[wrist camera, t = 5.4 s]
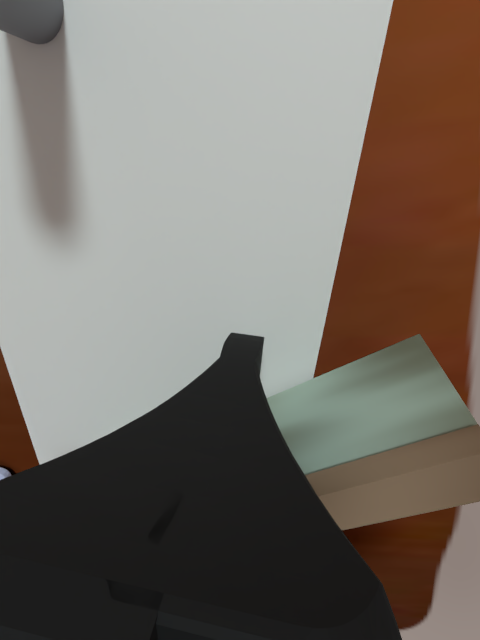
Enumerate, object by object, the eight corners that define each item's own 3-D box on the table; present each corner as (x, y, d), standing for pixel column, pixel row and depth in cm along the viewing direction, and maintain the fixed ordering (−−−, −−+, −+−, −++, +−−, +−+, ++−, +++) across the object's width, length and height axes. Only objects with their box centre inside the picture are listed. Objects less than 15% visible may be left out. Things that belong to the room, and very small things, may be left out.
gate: (110, 489, 15) (50, 595, 12) (87, 467, 15) (16, 571, 11) (437, 367, 10) (520, 499, 6) (415, 325, 9) (490, 442, 5)
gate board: (57, 463, 17) (-49, 598, 12) (-104, -85, 8) (-882, -539, 3) (282, 509, 16) (272, 685, 11) (405, -93, 7) (821, -1085, 1)
